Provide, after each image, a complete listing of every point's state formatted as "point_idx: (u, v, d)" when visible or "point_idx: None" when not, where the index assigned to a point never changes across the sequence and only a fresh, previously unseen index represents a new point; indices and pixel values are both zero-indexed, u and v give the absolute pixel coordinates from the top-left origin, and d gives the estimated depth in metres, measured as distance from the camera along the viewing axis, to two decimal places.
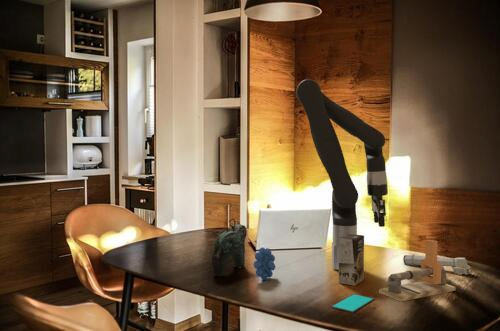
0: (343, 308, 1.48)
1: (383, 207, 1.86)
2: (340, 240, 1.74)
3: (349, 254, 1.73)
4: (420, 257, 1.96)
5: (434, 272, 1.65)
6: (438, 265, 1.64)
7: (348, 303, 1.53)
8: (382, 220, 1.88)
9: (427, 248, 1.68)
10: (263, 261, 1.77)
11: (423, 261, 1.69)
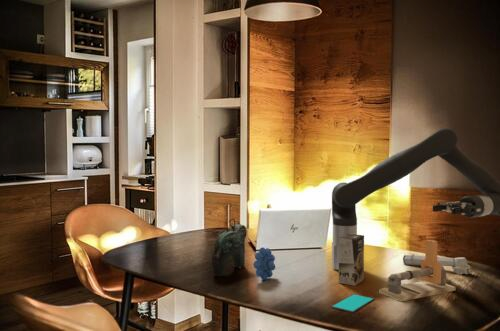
0: (343, 308, 1.48)
1: (475, 212, 1.66)
2: (340, 240, 1.74)
3: (349, 254, 1.73)
4: (420, 257, 1.97)
5: (434, 272, 1.65)
6: (438, 265, 1.64)
7: (348, 303, 1.53)
8: (460, 211, 1.66)
9: (427, 248, 1.68)
10: (263, 261, 1.77)
11: (423, 261, 1.69)
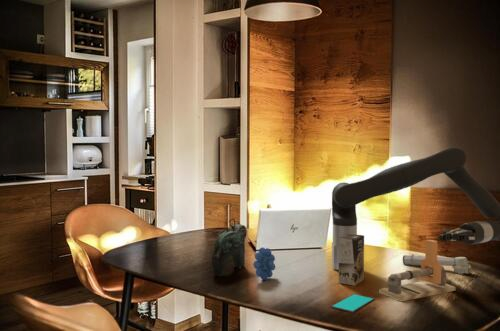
0: (343, 308, 1.48)
1: (466, 239, 1.68)
2: (340, 240, 1.74)
3: (349, 254, 1.73)
4: (420, 257, 1.96)
5: (434, 272, 1.65)
6: (438, 265, 1.64)
7: (348, 303, 1.53)
8: (449, 238, 1.69)
9: (427, 248, 1.68)
10: (263, 261, 1.77)
11: (423, 261, 1.69)
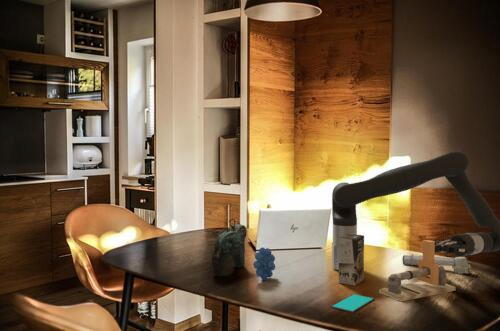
0: (343, 308, 1.48)
1: (456, 251, 1.66)
2: (340, 240, 1.74)
3: (349, 254, 1.73)
4: (420, 257, 1.97)
5: (431, 272, 1.65)
6: (435, 265, 1.64)
7: (348, 303, 1.53)
8: (439, 250, 1.67)
9: (424, 248, 1.67)
10: (263, 261, 1.77)
11: (420, 261, 1.69)
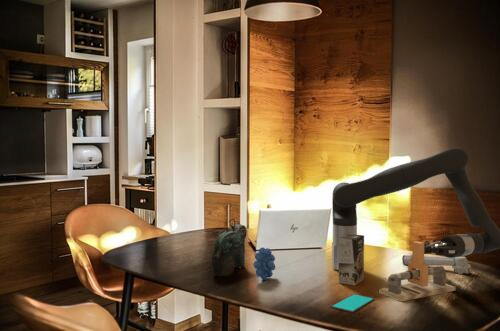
0: (343, 308, 1.48)
1: (446, 253, 1.64)
2: (340, 240, 1.74)
3: (349, 254, 1.73)
4: None
5: (421, 274, 1.62)
6: (425, 267, 1.62)
7: (348, 303, 1.53)
8: (428, 251, 1.65)
9: (414, 250, 1.65)
10: (263, 261, 1.77)
11: (410, 263, 1.67)
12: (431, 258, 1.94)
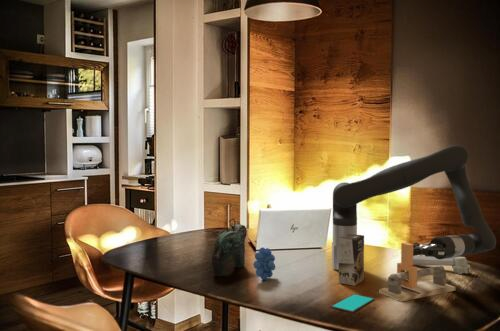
0: (343, 308, 1.48)
1: (435, 254, 1.62)
2: (340, 240, 1.74)
3: (349, 254, 1.73)
4: (419, 257, 1.97)
5: (410, 276, 1.60)
6: (414, 269, 1.60)
7: (348, 303, 1.53)
8: (418, 253, 1.63)
9: (403, 251, 1.63)
10: (263, 261, 1.77)
11: (399, 265, 1.64)
12: (431, 258, 1.94)
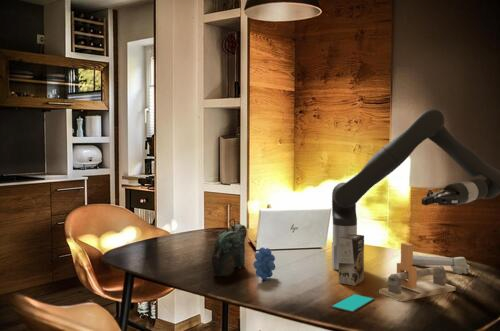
0: (343, 308, 1.48)
1: (448, 203, 1.65)
2: (340, 240, 1.74)
3: (349, 254, 1.73)
4: (419, 257, 1.97)
5: (409, 276, 1.60)
6: (413, 269, 1.59)
7: (348, 303, 1.53)
8: (431, 202, 1.66)
9: (402, 252, 1.63)
10: (263, 261, 1.77)
11: (398, 265, 1.64)
12: (430, 258, 1.94)
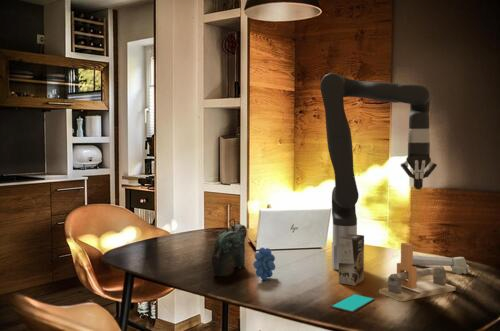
0: (343, 308, 1.48)
1: None
2: (340, 240, 1.74)
3: (349, 254, 1.73)
4: (418, 257, 1.97)
5: (409, 276, 1.60)
6: (413, 269, 1.59)
7: (348, 303, 1.53)
8: None
9: (402, 252, 1.63)
10: (263, 261, 1.77)
11: (398, 265, 1.64)
12: (430, 258, 1.94)
